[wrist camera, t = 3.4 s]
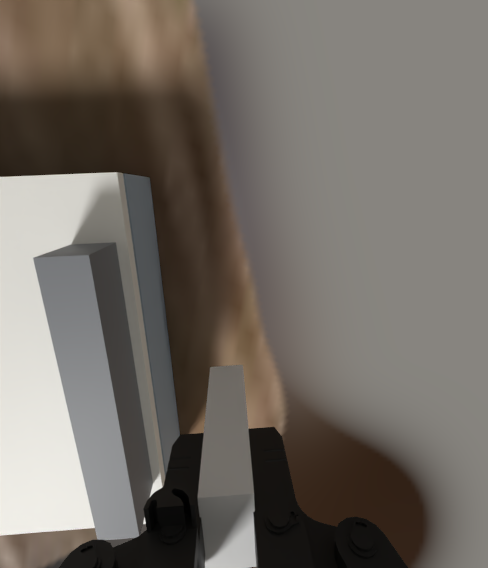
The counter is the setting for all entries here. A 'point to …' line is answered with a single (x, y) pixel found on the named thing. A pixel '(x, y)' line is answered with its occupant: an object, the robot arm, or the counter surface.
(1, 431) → the lid
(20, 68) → the counter surface
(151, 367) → the blue tray
